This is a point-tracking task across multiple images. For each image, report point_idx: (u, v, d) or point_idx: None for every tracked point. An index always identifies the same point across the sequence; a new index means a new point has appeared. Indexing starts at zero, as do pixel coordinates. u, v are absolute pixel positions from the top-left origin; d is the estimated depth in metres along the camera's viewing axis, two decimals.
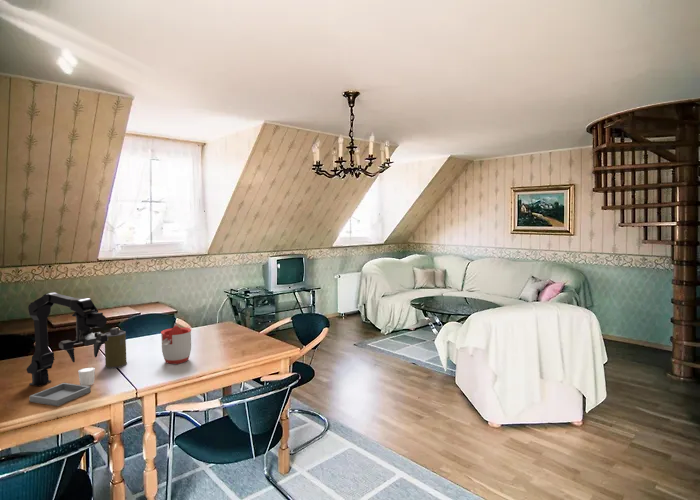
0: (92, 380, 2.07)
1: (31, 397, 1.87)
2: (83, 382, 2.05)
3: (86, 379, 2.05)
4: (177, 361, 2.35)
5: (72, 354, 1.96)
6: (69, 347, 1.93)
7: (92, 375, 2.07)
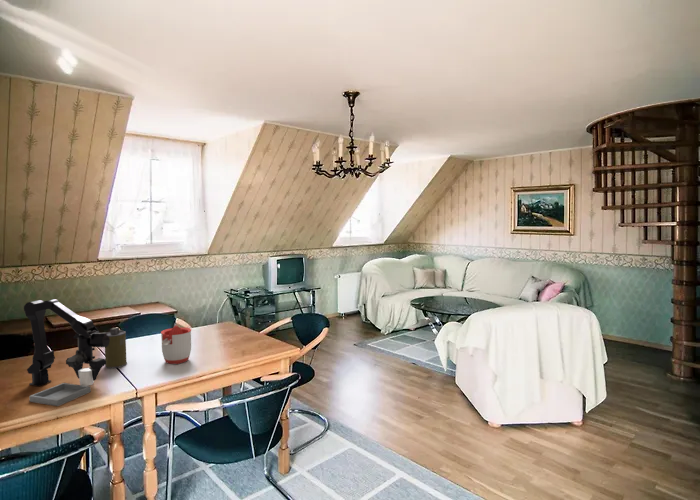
0: (92, 380, 2.07)
1: (31, 397, 1.87)
2: (83, 382, 2.05)
3: (86, 379, 2.05)
4: (177, 361, 2.35)
5: (75, 370, 2.08)
6: None
7: None
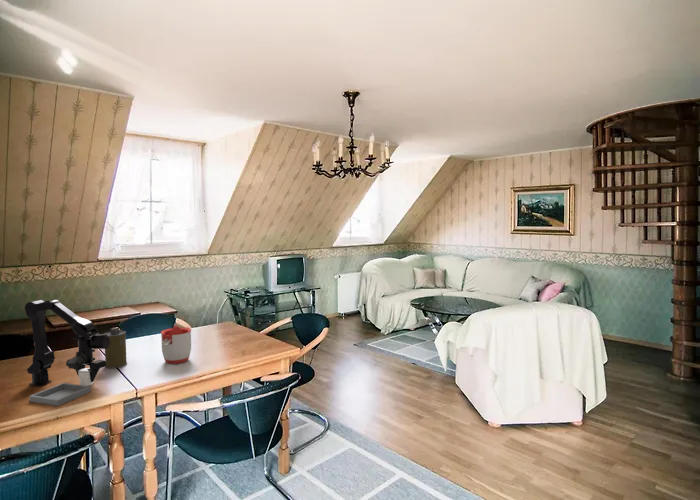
0: None
1: (31, 397, 1.87)
2: (83, 381, 2.05)
3: (86, 379, 2.05)
4: (177, 361, 2.35)
5: (77, 372, 2.07)
6: None
7: None
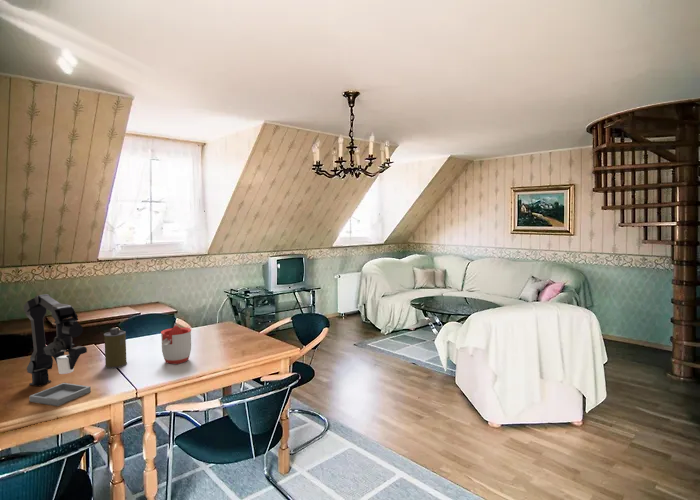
0: None
1: (31, 397, 1.87)
2: (61, 369, 1.92)
3: (65, 366, 1.93)
4: (177, 361, 2.35)
5: (55, 359, 1.95)
6: None
7: None
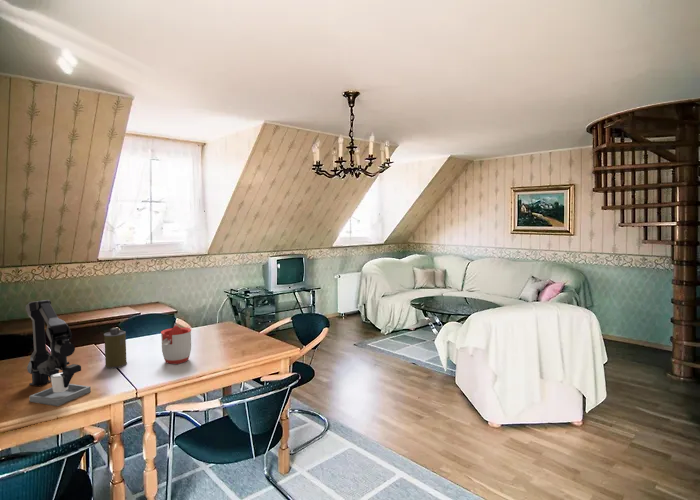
0: None
1: (31, 397, 1.87)
2: (55, 387, 1.90)
3: (59, 385, 1.90)
4: (177, 361, 2.35)
5: (50, 377, 1.93)
6: None
7: None
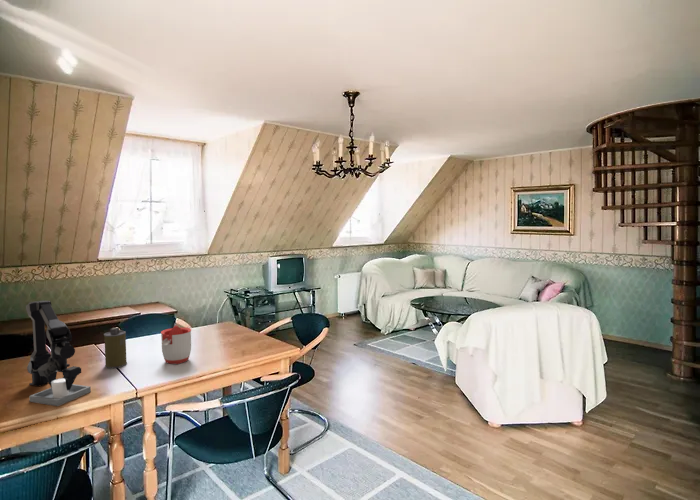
0: (66, 392, 1.92)
1: (31, 397, 1.87)
2: (56, 393, 1.90)
3: (59, 391, 1.90)
4: (177, 361, 2.35)
5: (48, 379, 1.93)
6: None
7: None
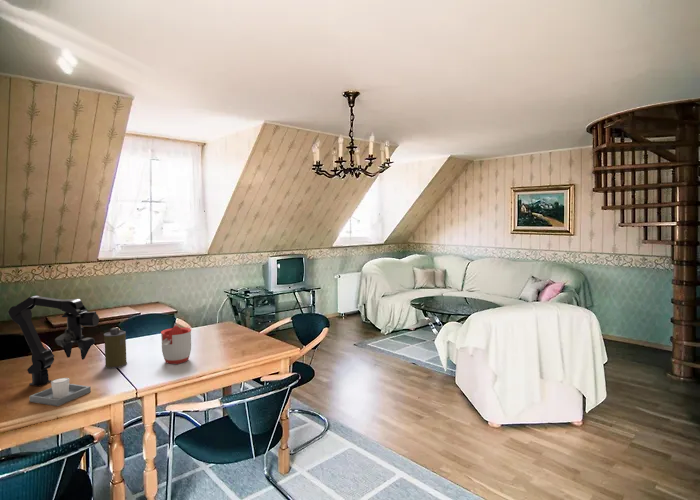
0: (66, 392, 1.92)
1: (31, 397, 1.87)
2: (56, 393, 1.90)
3: (59, 391, 1.90)
4: (177, 361, 2.35)
5: (64, 349, 2.09)
6: None
7: (66, 386, 1.92)
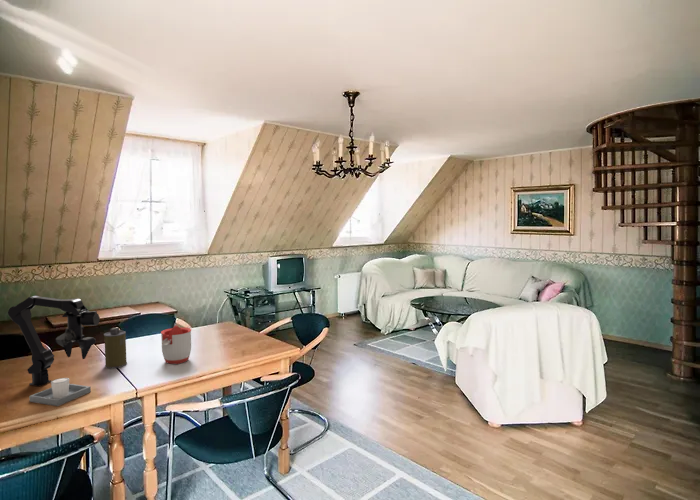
0: (66, 392, 1.92)
1: (31, 397, 1.87)
2: (56, 393, 1.90)
3: (59, 391, 1.90)
4: (177, 361, 2.35)
5: (64, 349, 2.09)
6: None
7: (66, 386, 1.92)
